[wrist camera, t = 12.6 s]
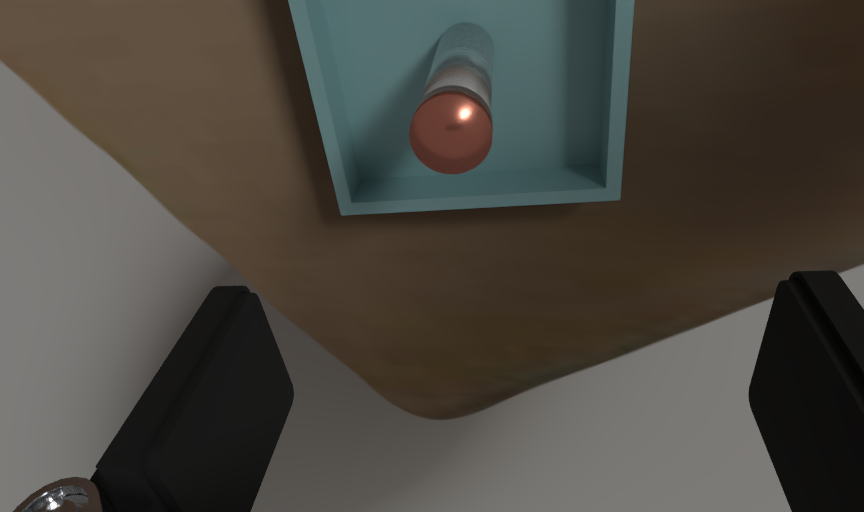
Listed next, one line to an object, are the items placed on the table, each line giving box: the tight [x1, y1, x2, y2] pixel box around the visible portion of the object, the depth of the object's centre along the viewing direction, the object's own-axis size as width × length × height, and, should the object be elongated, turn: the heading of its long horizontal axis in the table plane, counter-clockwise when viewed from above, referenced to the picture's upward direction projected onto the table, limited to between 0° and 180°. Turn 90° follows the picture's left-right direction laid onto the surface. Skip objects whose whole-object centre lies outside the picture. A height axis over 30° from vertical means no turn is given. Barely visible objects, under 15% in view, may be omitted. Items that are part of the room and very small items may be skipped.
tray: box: [288, 0, 634, 216], centre depth 30 cm, size 16×16×4 cm
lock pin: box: [409, 22, 494, 174], centre depth 27 cm, size 3×3×11 cm
